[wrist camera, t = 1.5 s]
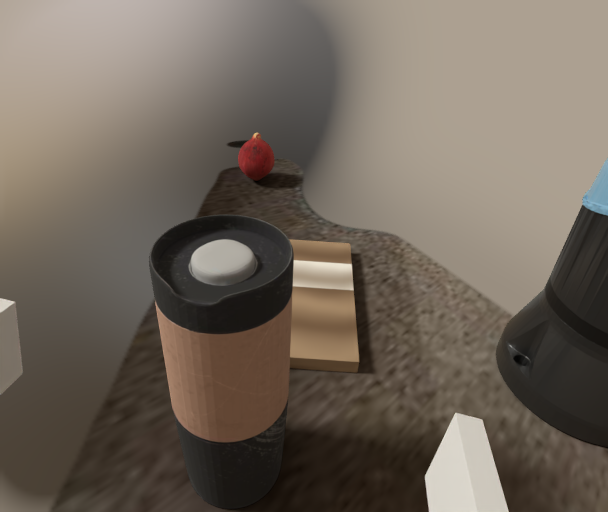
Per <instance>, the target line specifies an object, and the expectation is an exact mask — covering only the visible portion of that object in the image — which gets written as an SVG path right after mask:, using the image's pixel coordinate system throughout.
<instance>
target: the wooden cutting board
mask: <svg viewBox="0 0 608 512" xmlns="http://www.w3.org/2000/svg"><path fill="white" fill-rule="evenodd" d="M290 242H291V245H292V247H293V253H294V266H293V292H292V318H291V343H290V368H294V369H308V370H323V371H338V372H352V373H357V372H358V366H359V353H358V340H357V327H356V314H355V301H354V288H353V275H352V262H351V249H350V244H348V243H333V242H318V241H304V240H290Z"/></svg>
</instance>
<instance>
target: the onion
mask: <svg viewBox="0 0 608 512" xmlns="http://www.w3.org/2000/svg"><path fill="white" fill-rule="evenodd" d="M238 161H239V167H240V169H241V170H242V172H243V173H244V174H245V175H246V176H248V177H249V178H251V179H253V180H255V181H258V180H260V179H261V178H263V177H264V176H266V175H267V174H268V173H269V172H270V171H271V170H272V168H273V166H274V154H273V151H272V149H271V147H270V146H269V145H268V144H267V143H266V142H265V141H263V140H262V139H261V135H260V134H258V133H255V134H254V135H253V137H252V139H251V140H249V141H247V142H246V143H245V144H244V145H243V146H242V148H241V149H240V152H239V156H238Z"/></svg>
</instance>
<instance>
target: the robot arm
mask: <svg viewBox="0 0 608 512" xmlns="http://www.w3.org/2000/svg"><path fill="white" fill-rule="evenodd" d="M582 200H583V205H582V207H581V209H580V212H579V214H578V216H577V218H576V221H575V223H574V225H573V227H572V229H571V231H570V234H569V236H568V238H567V240H566V242H565V245H564V247H563V249H562V252H561V254H560V256H559V258H558V260H557V262H556V264H555V266H554V269H553V271H552V273H551V276H550V278H549V280H548V282H547V284H546V286H545V288H544V289H543V291H541V292H540V293H539V294H538V295H537V296H536V297H535V298H534V299H533V300H532V301H531V302H529V304H527V305H526V306H525V307H524V308H523V309H522V310H521V311H520V312H519V313H518V314H516V315H515V316H514V317H513V318H512V319H511V320H510V321H509V323H508V324H507V325H506V327H505V329H504V331H503V333H502V336H501V338H500V340H499V343H498V346H497V350H496V358H497V364H498V367H499V370H500V373H501V375H502V377H503V379H504V381H505V382H506V384H507V385H508V387H509V388H510V389H511V391H512V392H513V393H514V394H515V396H516V397H517V398H518V399H519V400H520V401H521V402H522V403H523V404H524V405H525V406H526V407H527V408H529V409H530V410H531V411H532V412H533V413H535V414H536V415H537V416H538V417H540V418H541V419H543V420H544V421H546V422H547V423H549V424H550V425H552V426H554V427H555V428H557V429H559V430H561V431H563V432H565V433H567V434H569V435H571V436H573V437H576V438H578V439H581V440H584V441H587V442H590V443H593V444H597V445H601V446H606V447H608V158H607V160H606V161H605V163H604V165H603V166H602V168H601V170H600V172H599V174H598V176H597V177H596V180H595V181H594V183H593V185H592V186H591V188H590V190H588V191H587V192H586V194H585V195H584V197H583V199H582ZM22 374H23V370H22V360H21V351H20V342H19V333H18V324H17V314H16V305H15V302H13V301H9V300H5V299H1V298H0V395H1V394H2V393H3V392H4V391H5V390H6V389H7V388H8V387H9V386H10V385H11V384H12V383H13V382H14V381H15V380H16V379H17V378H18V377H19V376H21V375H22ZM425 482H426V490H427V499H428V507H429V512H509V511H508V507H507V504H506V501H505V497H504V494H503V490H502V487H501V483H500V480H499V476H498V473H497V469H496V466H495V462H494V459H493V455H492V452H491V448H490V445H489V441H488V438H487V434H486V431H485V428H484V424H483V421H482V419H478V418H474V417H470V416H466V415H462V414H459V413H455V415H454V417H453V419H452V421H451V423H450V425H449V427H448V429H447V432H446V434H445V436H444V438H443V440H442V442H441V444H440V446H439V448H438V450H437V452H436V454H435V456H434V458H433V461H432V463H431V465H430V467H429V469H428V471H427V473H426V475H425Z"/></svg>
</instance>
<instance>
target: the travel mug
mask: <svg viewBox="0 0 608 512" xmlns="http://www.w3.org/2000/svg"><path fill="white" fill-rule="evenodd" d="M149 266H150V273H151V279H152V285H153V291H154V297H155V304H156V310H157V316H158V322H159V328H160V334H161V340H162V346H163V353H164V359H165V365H166V371H167V377H168V383H169V389H170V396H171V402H172V407H173V412H174V416H175V420H176V425H177V429H178V433H179V438H180V442H181V446H182V450H183V455H184V459H185V463H186V468H187V471H188V475H189V479H190V481H191V484H192V486H193V488H194V490H195V491H196V492H197V494H198V495H199V496H200V497H201V498H202V499H203V500H205V501H206V502H208V503H209V504H211V505H213V506H216V507H219V508H225V509H236V508H242V507H246V506H248V505H251V504H253V503H255V502H257V501H258V500H260V499H261V498H263V497H264V496H265V495H266V494H267V493H268V492H269V491H270V489H271V488H272V487H273V485H274V484H275V482H276V480H277V478H278V475H279V472H280V467H281V462H282V454H283V444H284V434H285V424H286V415H287V405H288V394H289V369H290V343H291V318H292V292H293V266H294V253H293V247H292V245H291V242H290V240H289V239H288V237H287V236H286V235H285V234H284V233H283V232H282V231H281V230H279V229H278V228H277V227H275V226H273V225H271V224H269V223H267V222H265V221H262V220H259V219H256V218H252V217H247V216H240V215H212V216H205V217H200V218H195V219H192V220H189V221H186V222H183V223H181V224H178V225H176V226H174V227H173V228H171V229H169V230H168V231H166V232H165V233H164V234H162V235H161V236H160V237H159V238H158V240H157V241H156V242H155V243H154V245H153V247H152V249H151V252H150V256H149Z"/></svg>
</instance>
